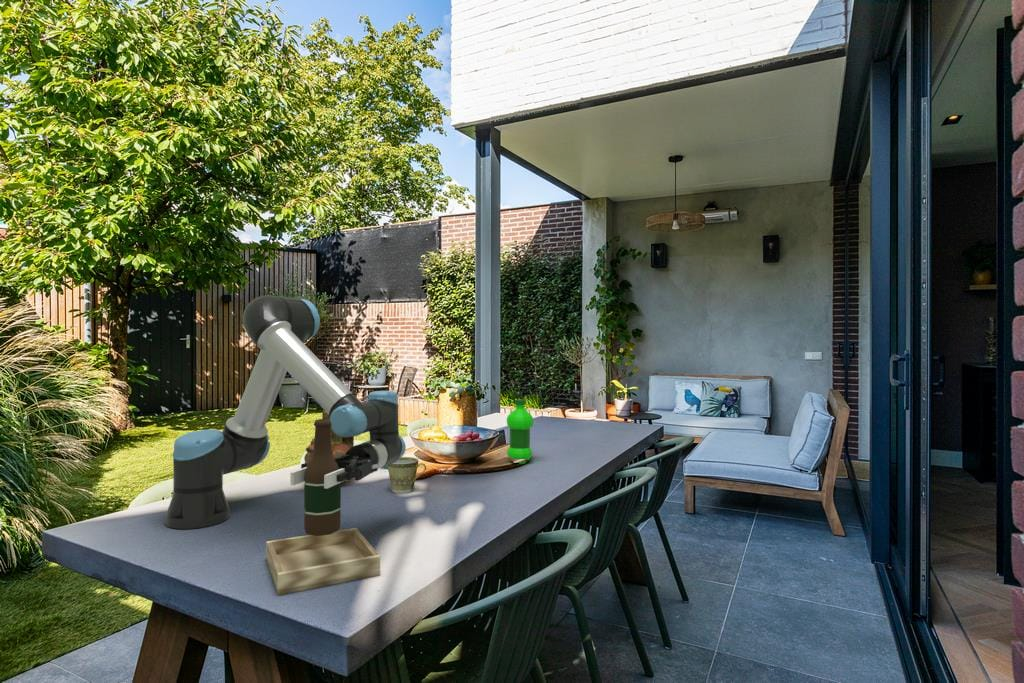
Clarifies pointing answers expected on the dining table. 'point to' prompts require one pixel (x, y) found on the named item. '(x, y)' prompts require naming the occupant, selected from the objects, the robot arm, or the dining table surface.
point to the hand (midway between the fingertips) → (308, 480)
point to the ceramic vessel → (332, 443)
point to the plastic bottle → (520, 432)
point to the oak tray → (320, 560)
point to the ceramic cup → (404, 474)
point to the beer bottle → (321, 486)
